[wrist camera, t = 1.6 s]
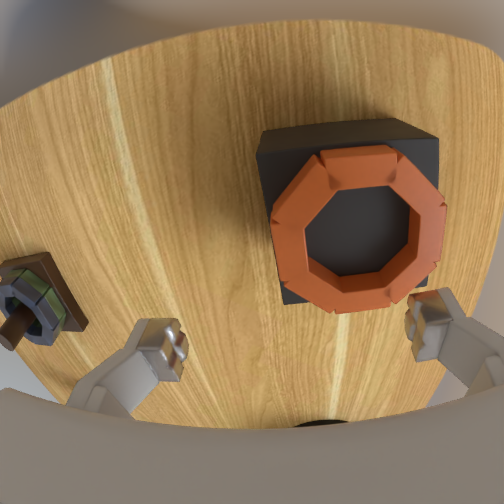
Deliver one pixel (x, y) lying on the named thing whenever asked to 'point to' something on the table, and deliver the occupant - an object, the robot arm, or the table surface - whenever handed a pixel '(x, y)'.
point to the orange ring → (316, 197)
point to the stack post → (36, 302)
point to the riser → (347, 193)
